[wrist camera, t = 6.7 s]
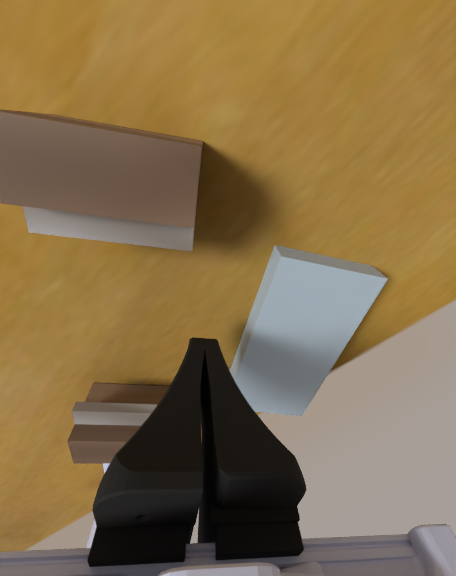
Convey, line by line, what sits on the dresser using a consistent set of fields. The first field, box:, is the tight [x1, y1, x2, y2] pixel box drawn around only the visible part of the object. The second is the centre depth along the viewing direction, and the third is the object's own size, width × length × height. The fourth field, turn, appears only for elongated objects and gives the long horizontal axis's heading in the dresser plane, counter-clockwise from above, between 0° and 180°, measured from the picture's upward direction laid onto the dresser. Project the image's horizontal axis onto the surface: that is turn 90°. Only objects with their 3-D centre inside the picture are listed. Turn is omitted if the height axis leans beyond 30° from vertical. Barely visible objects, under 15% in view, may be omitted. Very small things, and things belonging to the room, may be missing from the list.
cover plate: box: [230, 245, 388, 416], centre depth 17 cm, size 12×6×2 cm, turn 166°
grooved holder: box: [0, 110, 203, 463], centre depth 14 cm, size 18×6×4 cm, turn 171°
